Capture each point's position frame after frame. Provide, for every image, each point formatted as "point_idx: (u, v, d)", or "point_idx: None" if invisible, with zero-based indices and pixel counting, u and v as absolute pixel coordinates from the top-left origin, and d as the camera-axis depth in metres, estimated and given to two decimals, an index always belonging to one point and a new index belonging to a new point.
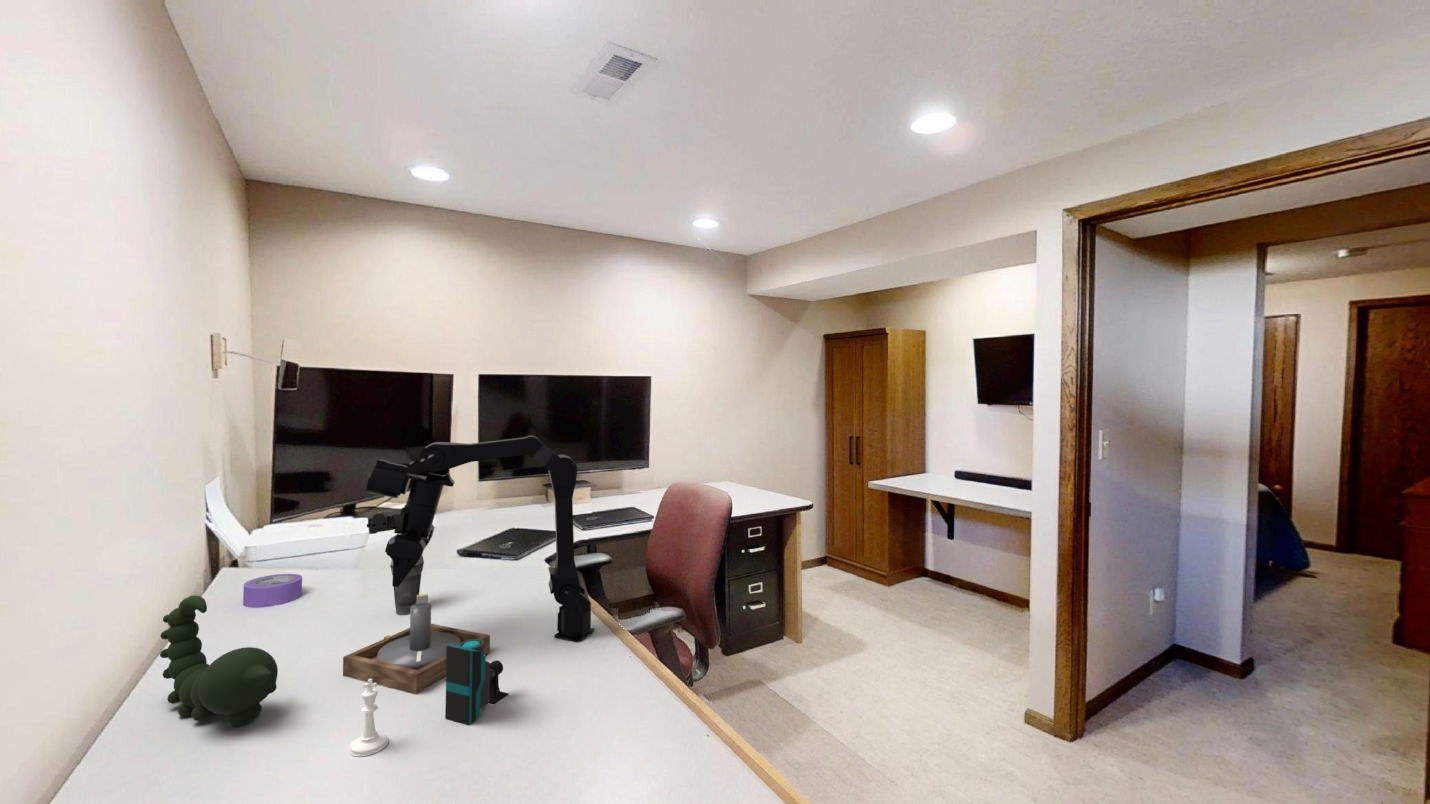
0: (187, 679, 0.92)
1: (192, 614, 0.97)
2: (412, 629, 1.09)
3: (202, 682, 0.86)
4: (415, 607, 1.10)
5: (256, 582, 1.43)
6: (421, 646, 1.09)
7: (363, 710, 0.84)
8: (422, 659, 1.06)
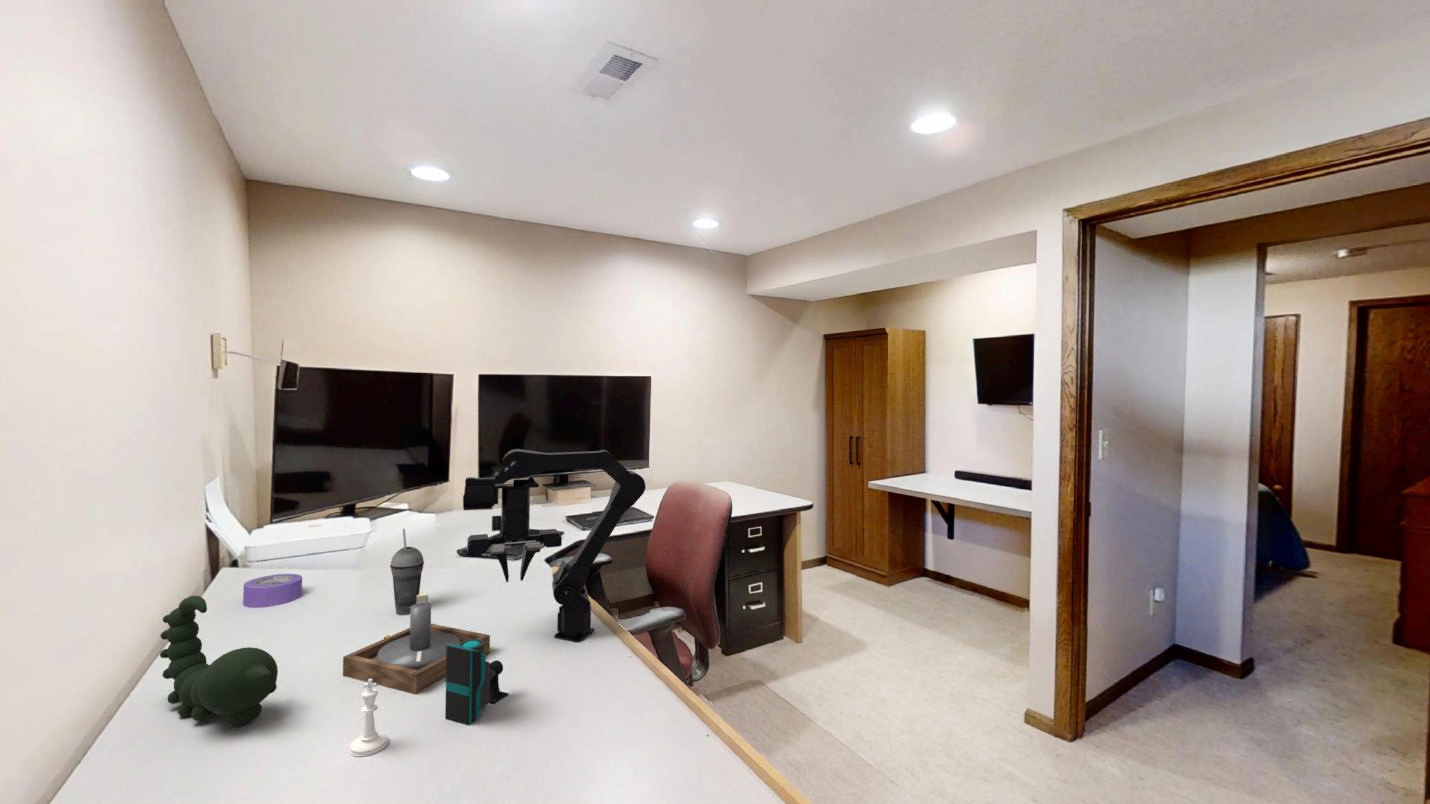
0: (187, 679, 0.92)
1: (192, 614, 0.97)
2: (412, 629, 1.09)
3: (202, 682, 0.86)
4: (415, 607, 1.10)
5: (256, 582, 1.43)
6: (421, 646, 1.09)
7: (363, 710, 0.84)
8: (422, 659, 1.06)
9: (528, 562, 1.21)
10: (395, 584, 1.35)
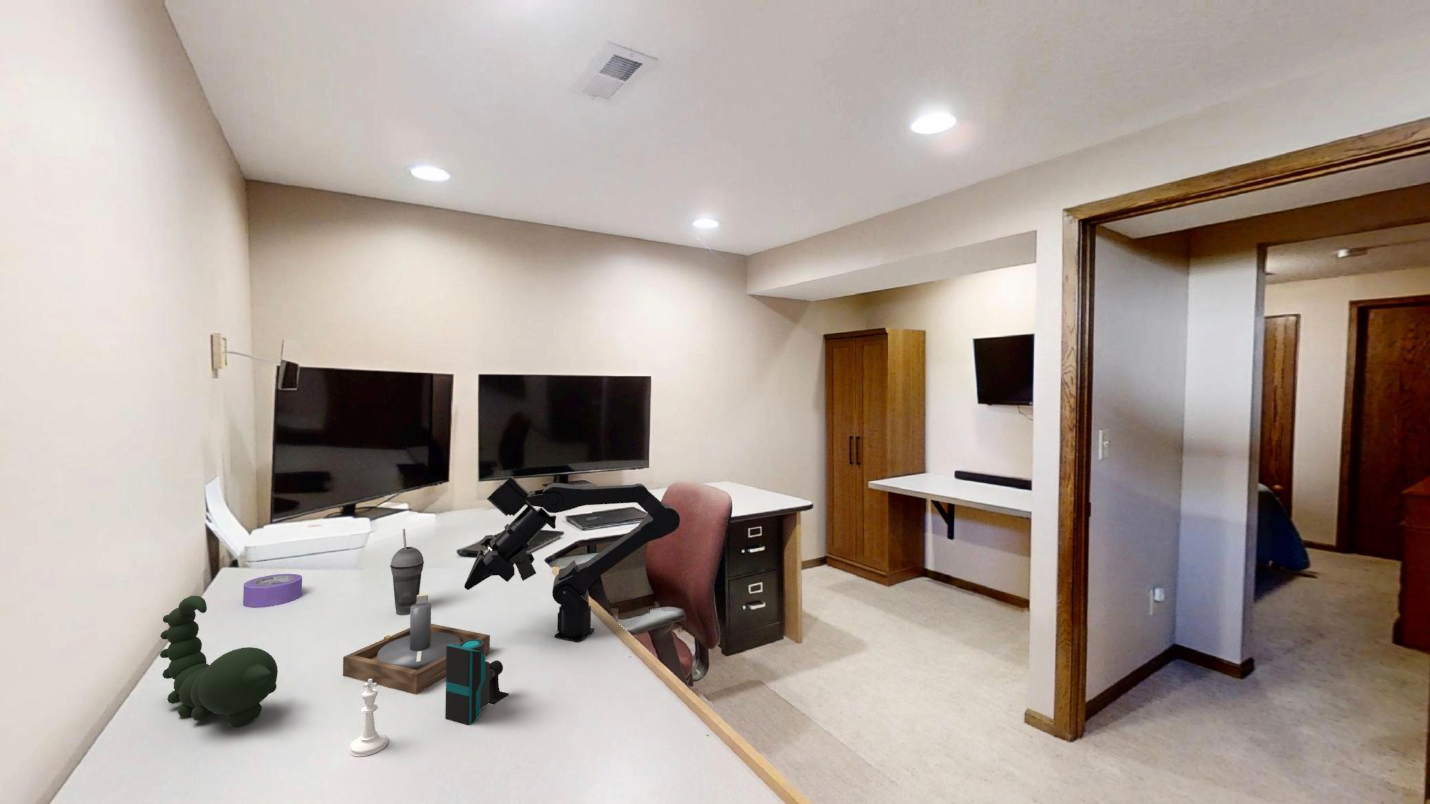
0: (187, 679, 0.92)
1: (192, 614, 0.97)
2: (412, 629, 1.09)
3: (202, 682, 0.86)
4: (415, 607, 1.10)
5: (256, 582, 1.43)
6: (421, 646, 1.09)
7: (363, 710, 0.84)
8: (422, 659, 1.06)
9: (474, 567, 1.17)
10: (395, 584, 1.35)
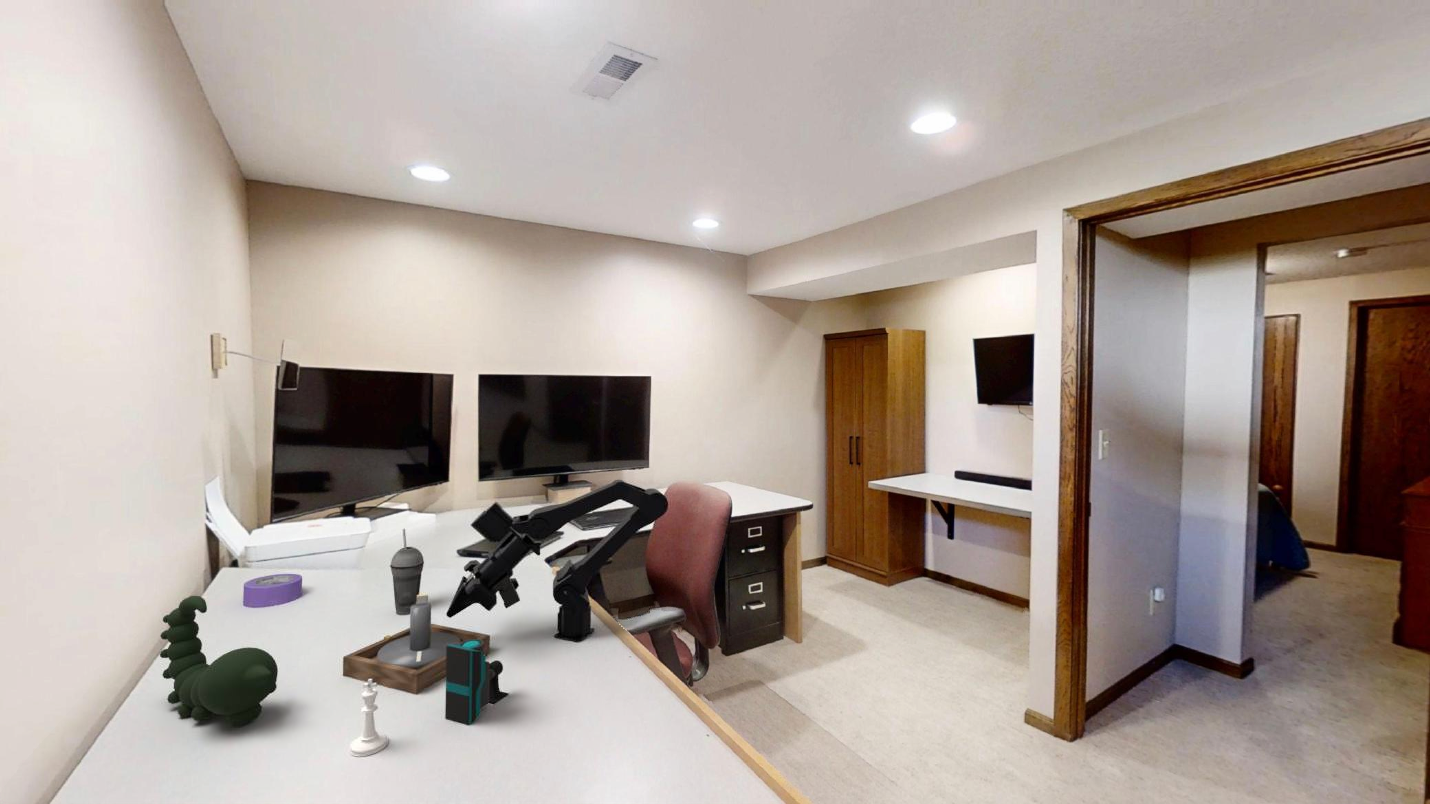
0: (187, 679, 0.92)
1: (192, 614, 0.97)
2: (412, 629, 1.09)
3: (202, 682, 0.86)
4: (415, 607, 1.10)
5: (256, 582, 1.43)
6: (421, 646, 1.09)
7: (363, 710, 0.84)
8: (422, 659, 1.06)
9: (456, 595, 1.16)
10: (395, 584, 1.35)
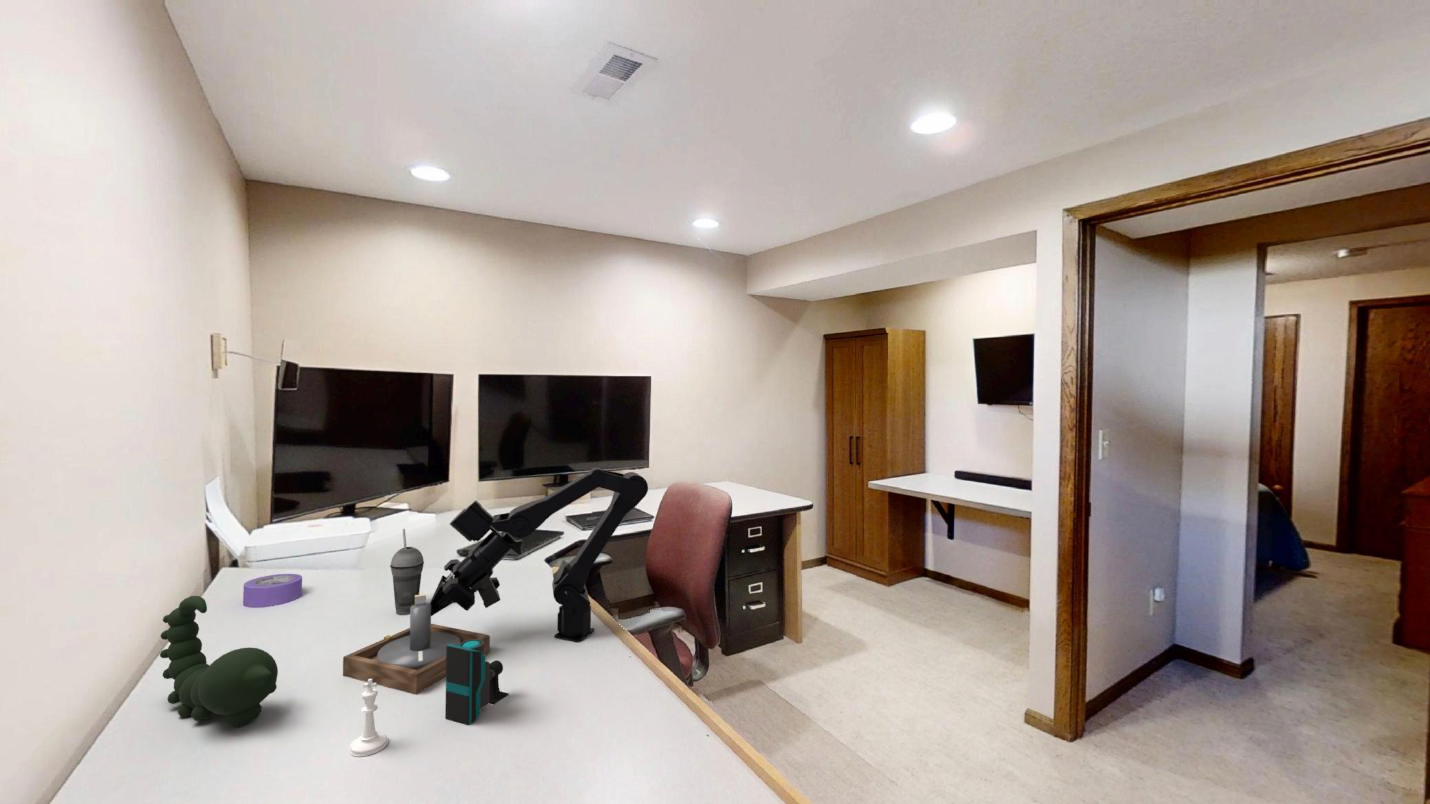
0: (187, 679, 0.92)
1: (192, 614, 0.97)
2: (413, 629, 1.09)
3: (202, 682, 0.86)
4: (415, 607, 1.10)
5: (256, 582, 1.43)
6: (422, 646, 1.09)
7: (363, 710, 0.84)
8: (424, 659, 1.06)
9: (435, 594, 1.14)
10: (395, 584, 1.35)
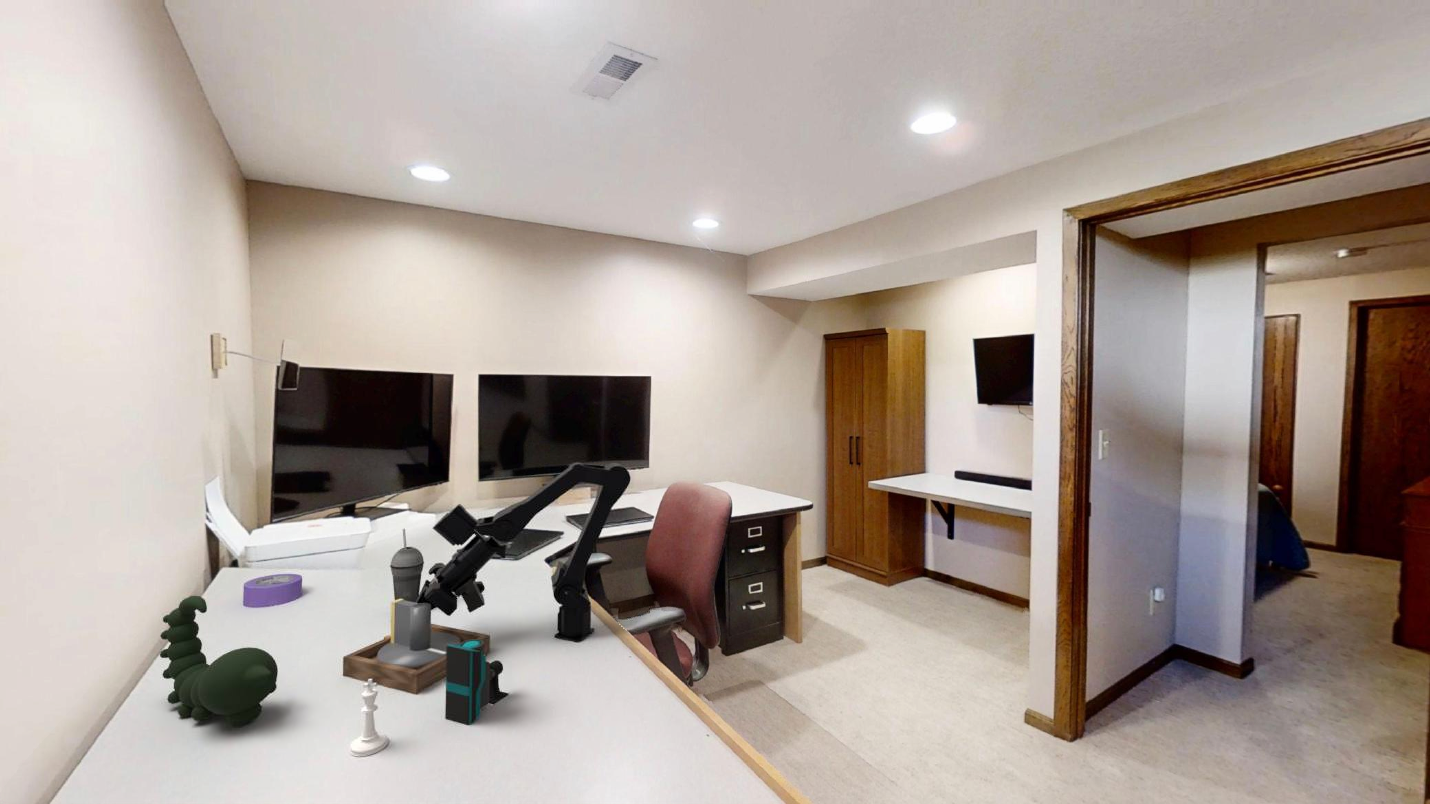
0: (187, 679, 0.92)
1: (192, 614, 0.97)
2: (419, 629, 1.09)
3: (202, 682, 0.86)
4: (418, 608, 1.10)
5: (256, 582, 1.43)
6: (428, 644, 1.10)
7: (363, 710, 0.84)
8: (445, 651, 1.09)
9: (418, 599, 1.13)
10: (395, 584, 1.35)
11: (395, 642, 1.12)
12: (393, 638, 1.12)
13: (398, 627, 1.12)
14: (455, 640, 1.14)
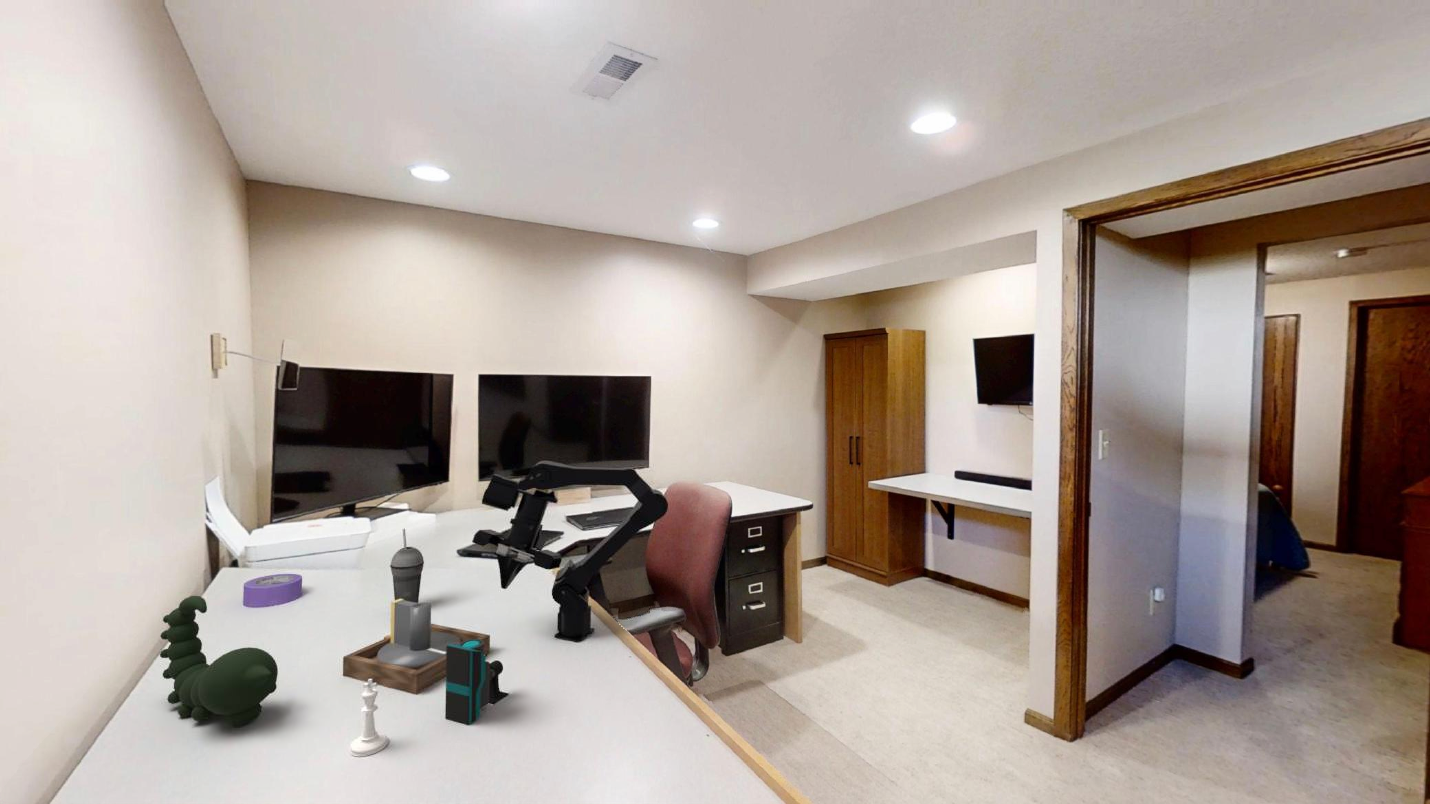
0: (187, 679, 0.92)
1: (192, 614, 0.97)
2: (419, 629, 1.09)
3: (202, 682, 0.86)
4: (418, 608, 1.10)
5: (256, 582, 1.43)
6: (428, 644, 1.10)
7: (363, 710, 0.84)
8: (445, 651, 1.09)
9: (511, 571, 1.19)
10: (395, 584, 1.35)
11: (395, 642, 1.12)
12: (392, 638, 1.12)
13: (398, 627, 1.12)
14: (455, 640, 1.14)
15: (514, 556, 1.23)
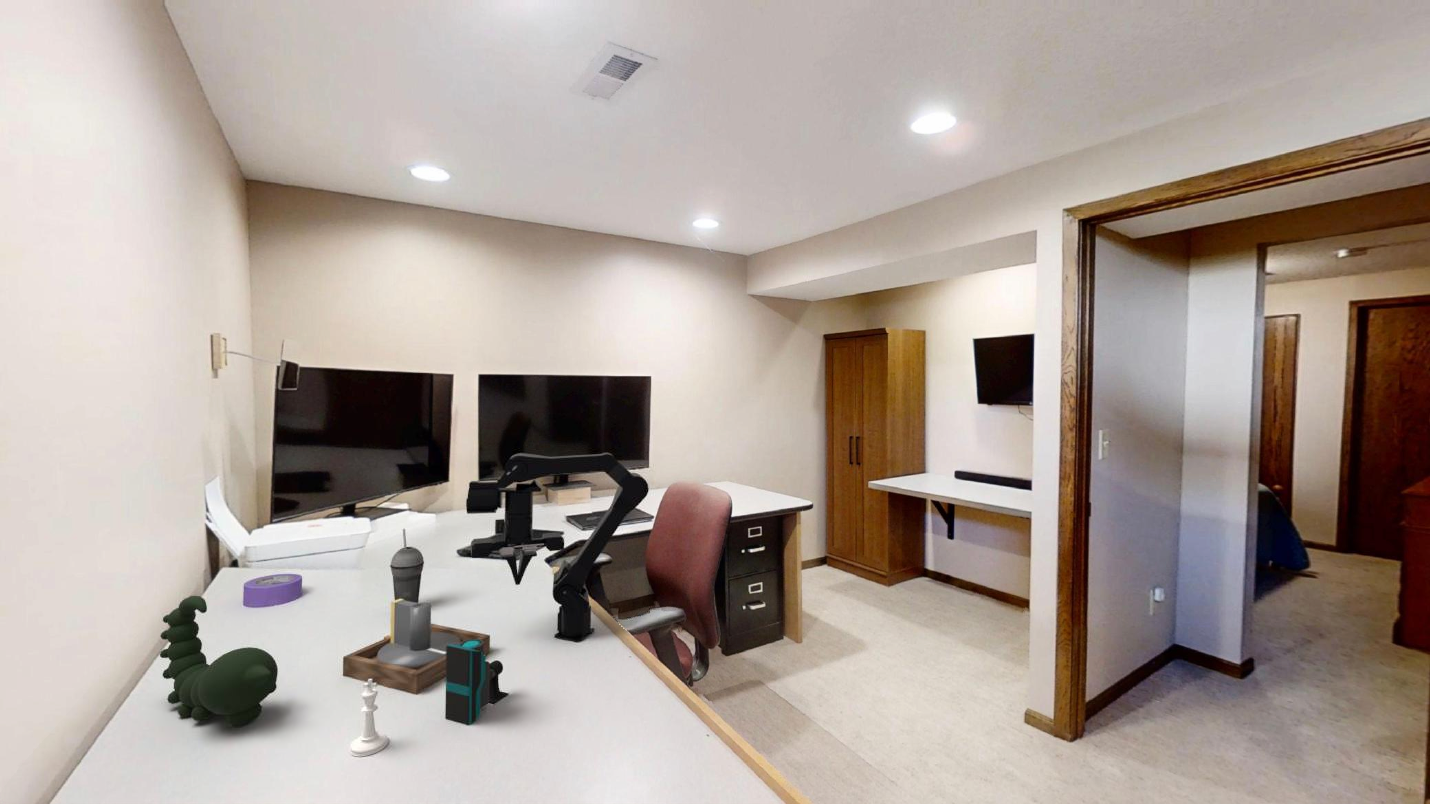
0: (187, 679, 0.92)
1: (192, 614, 0.97)
2: (419, 629, 1.09)
3: (202, 682, 0.86)
4: (418, 608, 1.10)
5: (256, 582, 1.43)
6: (428, 644, 1.10)
7: (363, 710, 0.84)
8: (445, 651, 1.09)
9: (525, 566, 1.21)
10: (395, 584, 1.35)
11: (395, 642, 1.12)
12: (392, 638, 1.12)
13: (398, 627, 1.12)
14: (455, 640, 1.14)
15: None
